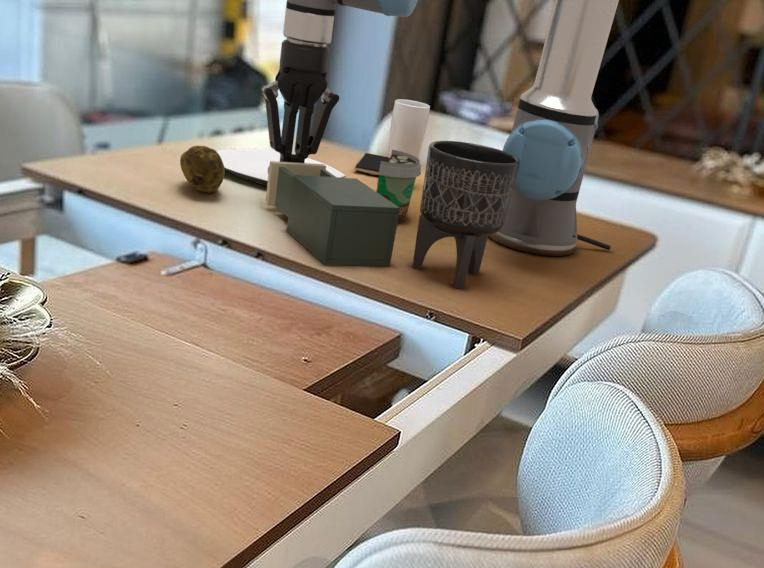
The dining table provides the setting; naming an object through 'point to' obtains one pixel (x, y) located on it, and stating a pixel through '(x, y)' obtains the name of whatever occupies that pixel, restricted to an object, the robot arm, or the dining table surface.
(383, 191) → the food container
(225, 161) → the plate
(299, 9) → the robot arm
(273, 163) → the drawer
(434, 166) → the planter
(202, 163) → the potato
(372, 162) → the smartphone
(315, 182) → the cabinet
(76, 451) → the dining table surface
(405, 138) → the drinking glass
